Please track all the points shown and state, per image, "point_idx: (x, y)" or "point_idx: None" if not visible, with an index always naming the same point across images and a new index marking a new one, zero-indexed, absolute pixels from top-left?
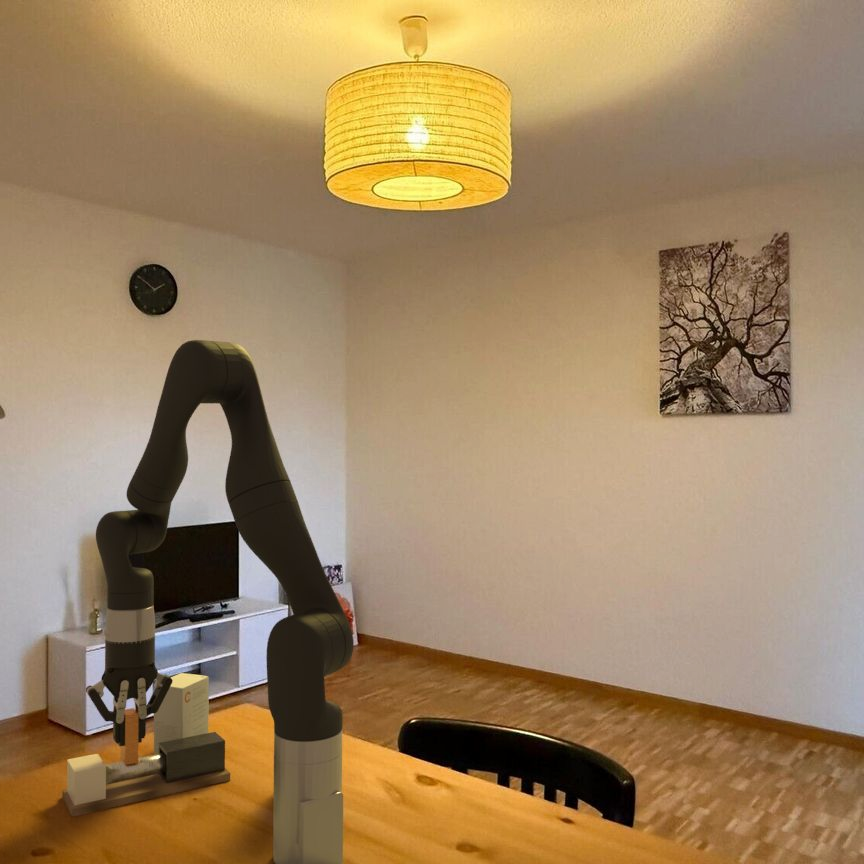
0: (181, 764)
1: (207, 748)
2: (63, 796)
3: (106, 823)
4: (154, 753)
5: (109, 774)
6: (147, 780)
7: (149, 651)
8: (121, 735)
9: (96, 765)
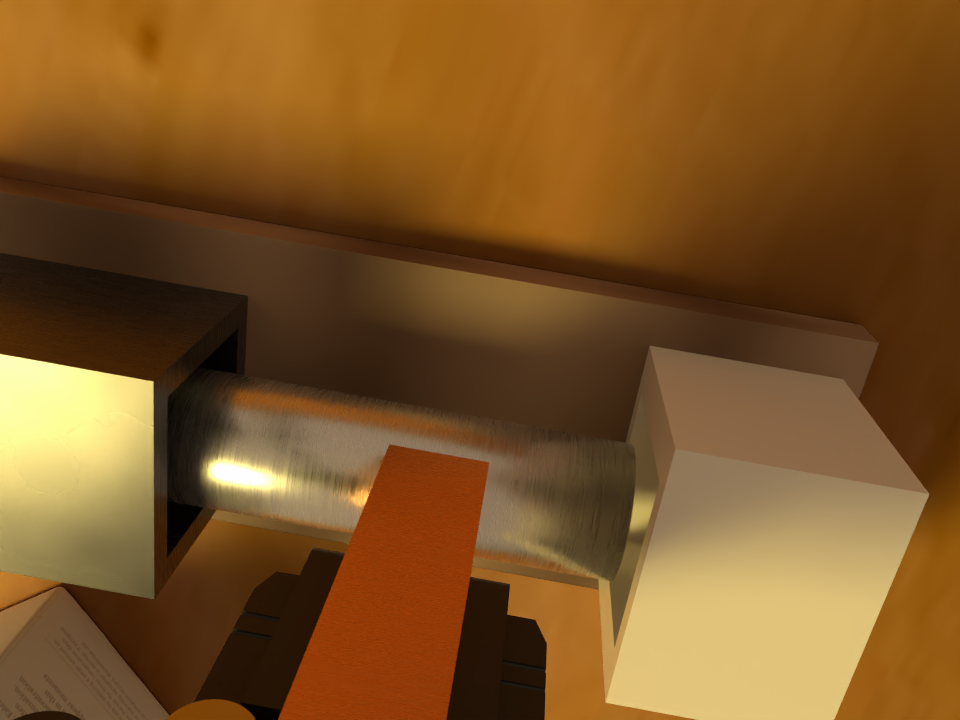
0: (97, 316)
1: None
2: None
3: (757, 86)
4: None
5: (603, 461)
6: None
7: None
8: (492, 645)
9: (726, 509)
